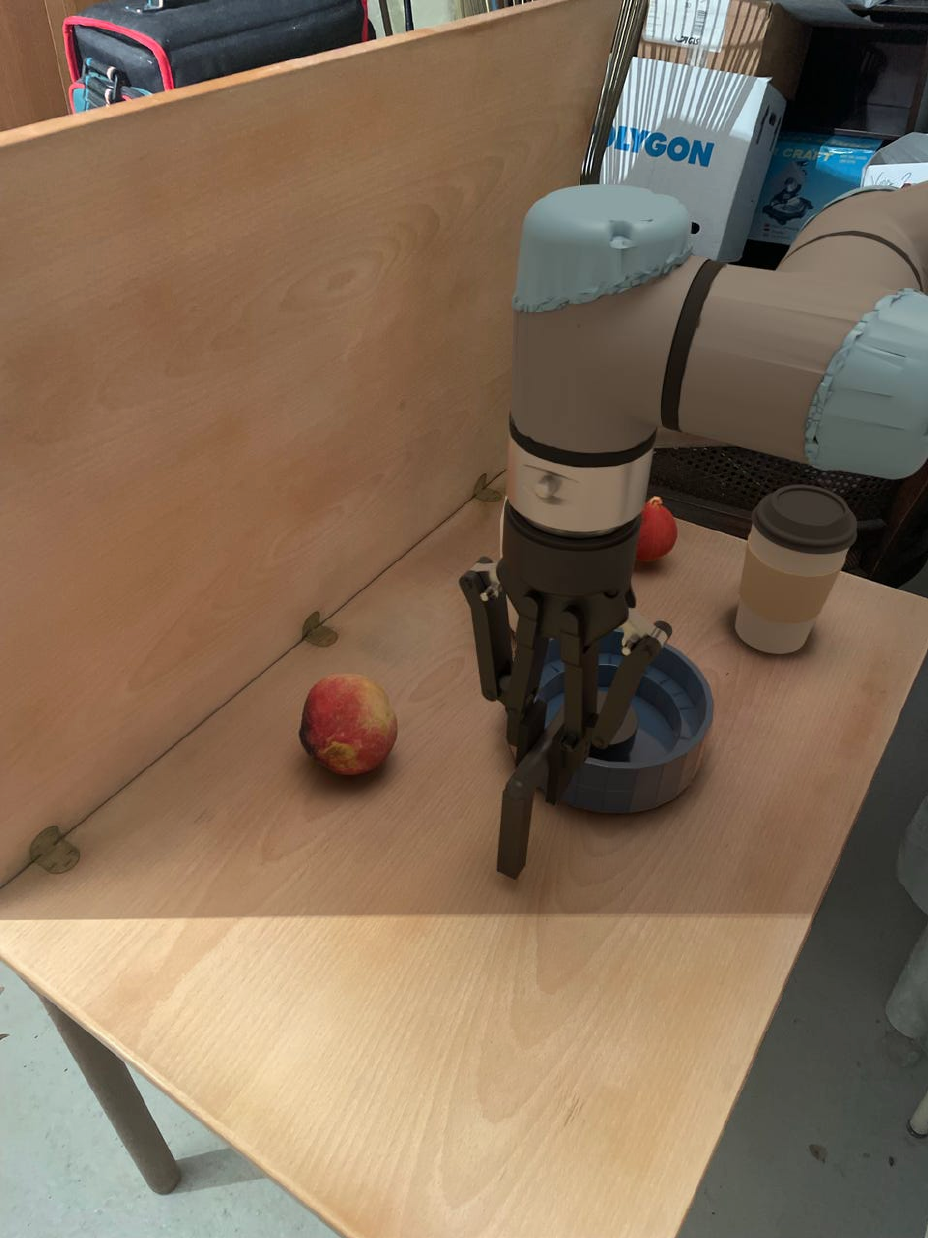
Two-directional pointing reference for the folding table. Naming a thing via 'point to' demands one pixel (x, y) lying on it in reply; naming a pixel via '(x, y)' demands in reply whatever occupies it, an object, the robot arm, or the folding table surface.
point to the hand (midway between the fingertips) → (542, 783)
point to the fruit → (348, 724)
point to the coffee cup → (791, 565)
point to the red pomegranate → (655, 531)
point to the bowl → (639, 730)
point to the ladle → (530, 775)
